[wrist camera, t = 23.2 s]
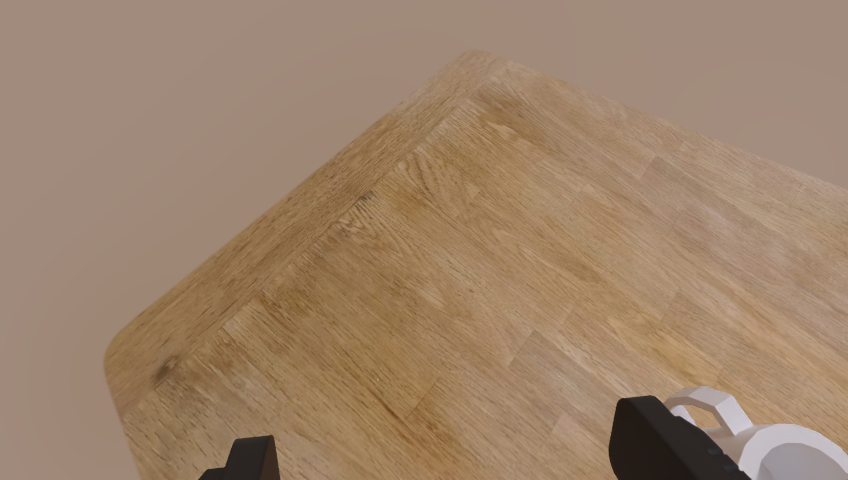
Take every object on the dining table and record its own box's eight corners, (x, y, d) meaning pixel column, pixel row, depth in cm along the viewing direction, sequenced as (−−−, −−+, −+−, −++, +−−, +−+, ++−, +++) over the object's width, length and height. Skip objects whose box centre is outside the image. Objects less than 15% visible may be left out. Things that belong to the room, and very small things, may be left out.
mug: (602, 425, 40) (674, 418, 31) (684, 376, 43) (773, 356, 33) (699, 588, 35) (819, 641, 26) (783, 521, 38) (920, 546, 29)
